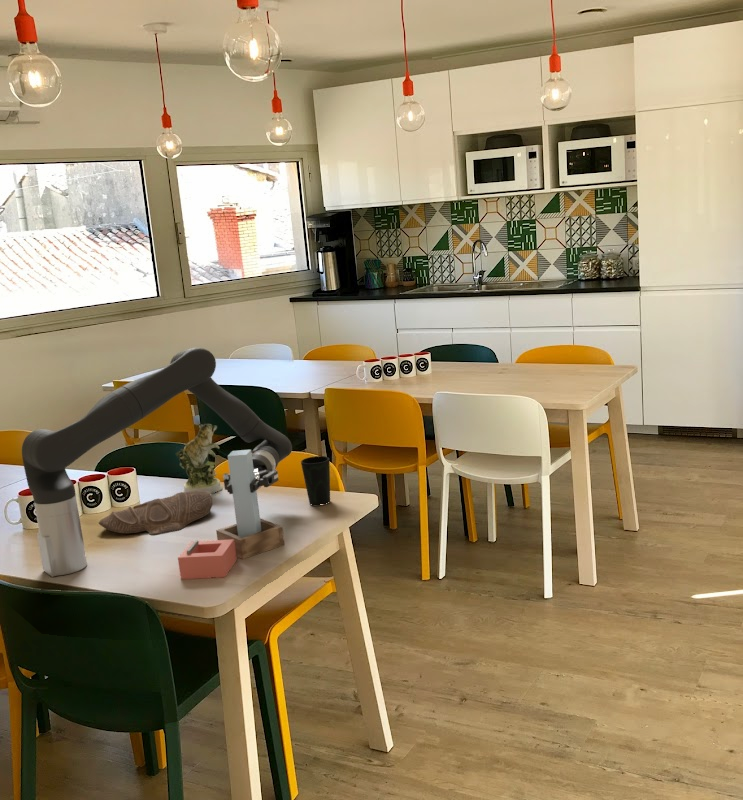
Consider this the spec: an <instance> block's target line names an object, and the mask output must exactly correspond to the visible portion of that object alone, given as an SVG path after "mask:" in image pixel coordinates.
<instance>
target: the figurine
mask: <svg viewBox="0 0 743 800" xmlns="http://www.w3.org/2000/svg"><path fill="white" fill-rule="evenodd" d="M198 428H199V430H198V433H197V435H196V436H195V437H194V438H193V439H192V440H190V441H188V442H187V443H186V444H185V446H184V448H180V449H179V450H178V451H177V452H175V455H176V457H177V459H178V460H179V466H180V467H181V468H182V469H183V470H185V472H186V475H187V476H188V479H187V481H186V482H184V484H183V491H182V492H188V491H206V492H208V493H210V494H211V495H213V494H215V492H216V493H218V492H220V491H222V489H223V485H222V484H221V480H220V479H218V478H216V476H217V473H216V471H215V469H214V468H216V467H215V465H216V462H214V461H210V460H207V461H206V458H208V455H211V456H212V457H213V458H215V457H216V456H217V455H216V453H215V452H214V451H213V450H212V449H213V448H214V449H218V450H220V446H219V445H218V444H217V443H216V442H213V436H214V432H215V431H217V429H218V425H213V424H211V423H204V424H202V423H199V424H198ZM205 461H206V462H205ZM217 491H218V492H217ZM212 493H213V494H212Z"/></svg>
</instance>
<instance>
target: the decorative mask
mask: <svg viewBox="0 0 743 800" xmlns="http://www.w3.org/2000/svg"><path fill="white" fill-rule="evenodd" d="M212 505H213V496H212V494H210V493H208V492H206V491H188V492H183V491H181V492H177V493H175V494H174V495H170V496H167V497H163V498H156V499H151V500H149V501H146V502H143V503H139V504H137V505H134V506H133V507H132V506H128V507H127V508H126V509H122V510H119V511H112V512H110V513H109V515H107V516H105V517H103V518H102V519H100V521H99V522H98V524H99V525H100V526H101V527H103V528H104V529H105V530H108V531H110V532H115V533H119V534H134V533H141V532H147V533H148V534H149V535H150V536H158V535H163V534H167V533H173V532H179V531H182V530H184V528H185V527H187V525H189V524H190V523H193V522H195V521H197V520H199V519H201V518H204V517H206V516H207V515H208V514H209V513H210V512H211V509H212V507H213V506H212Z"/></svg>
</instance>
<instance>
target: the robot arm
mask: <svg viewBox="0 0 743 800" xmlns="http://www.w3.org/2000/svg"><path fill="white" fill-rule="evenodd" d="M216 366H217V362H216V358H215V355H214V354H213V353H212V352H211V351H210V350H208V349H206V348H202V347H191V348H188V349H184V350H182V351H180V352H177V353H176V354H175V355H174V356H172V358H171V360H170V362H169V364H168V365H167V366H165V367H164V368H161V369H160V370H157V371H156V372H152V373H150V374H146V375H144V376H142V377H139V378H136V379H134V380H133V381H130V382H128V383H125V384H123V385H122V386H120V387H118V388H117V389H114V390H112V391H110V392H109V393H108V394H107V395H105V396H103V397H102V398H101V399H99V400H98V401H97V402H96V403H95V405H94V406H93V407H92V408H91V409H90V410H89V411H88V412H87V413H86V414H85V415H84V416H83V417H82V418H80V419H78V420H76V421H75V422H73V423H71V424H69V425H67V426H64V427H62V428H60V429H58V430H55V431H54V430H50V429H45V428H41V429H36V430H33V431H31V432H29V434H27V435H26V437H25V438H24V440H23V442H22V445H21V457H22V459H21V460H22V464H23V468H24V472H25V478H26V483H27V486H28V488H29V491H30V492H31V495H32V498H33V504H34V509H35V515H36V521H37V522H36V523H37V526H38V527H37V528H38V531H37V532H36V537H37V543H38V547H39V554H40V559H41V565H42V570H43V572H44V571H45V572H44V573H46V574H47V575H49V576H51V578H52V577H57V576H63V575H70V574H74V573H77V572H79V571H81V570H83V569H84V568H86V567H87V565H88V561H87V554H86V550H85V542H84V537H83V530H82V524H81V519H80V511H79V507H78V501H77V500H78V499H77V494H76V490H75V489H76V488H75V485H74V483H73V481H72V479H70V477H69V475H68V473H67V471H66V468H67V467H68V466H70V465H72V464H73V463H74V462H75V461H77V460H78V459H79V458H81V457H82V456H83V455H85V454H86V453H87V452H88V451H90V450H91V449H93V448H95V447H96V446H98V445H99V444H101V443H102V442H104V441H106V440H109V439H110V438H111V437H114V436H115V435H117V434H119V433H120V432H122V431H124V430H125V429H127V428H129V427H131V426H133V425H135V424H136V423H138V422H140V421H141V420H143V419H144V418H146V417H147V416H148V415H150V414H151V413H153V412H154V411H156V410H158V409H159V408H161V407H162V406H163V405H165V404H166V403H168V402H169V401H170V400H171V399H173V398H174V397H176V396H178V395H179V394H181V393H183V392H185V391H189V392H190V393H192V395H194V396H195V397H197V398H198V399H199V400H201V402H202V403H204V404H206V406H207V407H209V408H210V409H211V410H212V411H214V412H215V414H217V415H218V416H219V418H221V419H222V420H223V421H224V422H225V423H226V424H227V425H228V426H229V427H230V428H231V429H232V430H233V431H234V432H235V433H236V434H237V435H238V437H240V438H241V440H243V441H244V442H245V443H253V442H255V441H258V440H263V441H262V442H261V443H259V444H258V445H256V446H255V447H254V448H253V450H251V452H252V460H253V468H254V476H255V479H253V481H252V482H251V483H250V492H251V493H254V492H255V491H257V490H259V489H261V488H262V487H263V488H268V487H271V486H272V485H273V484H275V483H276V482H278V481H279V472H278V470H277V469H276V468H277V467H278V465H279V463H280V462H282V461H283V460H285V459H286V458H287V457H288V456H290V454H291V453H292V451H293V445H292V442H291V440H290V439H289V438H288V437H287V436H286V435H285V434H283V433H282V432H281V431H278V430H276V428H273V426H272V427H271V426H270V425H268V424H267V423H265V422H264V421H263V420H262V419H260V417H259V416H258V415H257V414H256V413H255V411H253V409H251V408H250V407H249V406H248V405H247V404H246V403H245V402H243V401H242V400H240V399H239V398H238V397H236V396H235V395H233V394H231V393H230V392H229V391H227V390H225V388H223V387H221V386H220V385H219V384H218V383H217V382H216V381H215V380H214V379H213V378H212V377H213V375H214V373H215V371H216V368H217V367H216ZM222 476H223V478H222V479H223V485H224V490H227V493H229V495H233V491H232V485H231V478H230V473H227V472H225V473H223V475H222Z"/></svg>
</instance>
